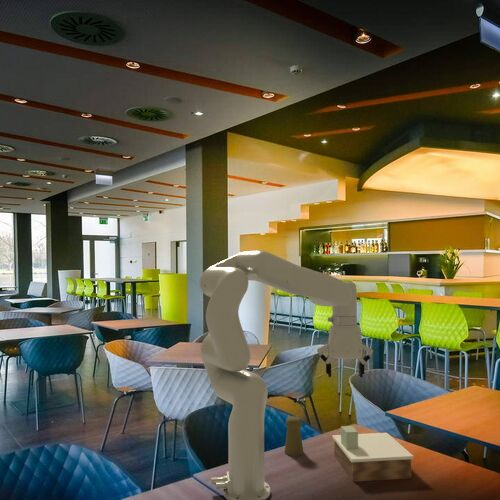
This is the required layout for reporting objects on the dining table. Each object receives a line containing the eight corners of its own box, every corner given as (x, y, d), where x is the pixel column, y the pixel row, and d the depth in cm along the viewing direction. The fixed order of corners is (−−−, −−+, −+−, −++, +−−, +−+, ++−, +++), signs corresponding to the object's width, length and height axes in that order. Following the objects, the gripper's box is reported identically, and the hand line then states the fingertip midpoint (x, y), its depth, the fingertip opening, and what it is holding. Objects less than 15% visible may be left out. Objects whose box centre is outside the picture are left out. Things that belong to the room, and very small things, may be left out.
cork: (303, 448, 147) (303, 414, 147) (303, 456, 141) (303, 421, 141) (284, 448, 147) (284, 414, 148) (284, 455, 141) (284, 420, 142)
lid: (351, 462, 124) (351, 441, 124) (332, 437, 142) (332, 419, 142) (413, 458, 126) (413, 437, 126) (386, 435, 144) (386, 416, 144)
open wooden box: (353, 481, 124) (352, 461, 124) (334, 456, 141) (334, 438, 141) (411, 478, 126) (411, 458, 126) (386, 453, 143) (385, 435, 143)
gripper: (317, 322, 137) (318, 378, 137) (375, 322, 136) (375, 379, 136) (315, 319, 145) (316, 373, 144) (370, 320, 144) (370, 373, 143)
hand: (345, 376), depth 140 cm, fingers open, 9 cm apart
